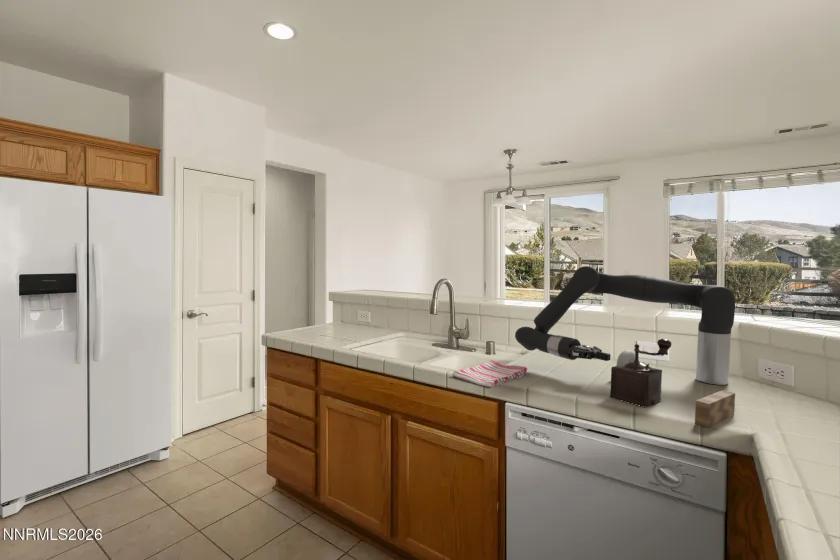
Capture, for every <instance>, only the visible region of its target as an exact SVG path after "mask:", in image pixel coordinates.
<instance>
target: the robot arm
mask: <svg viewBox="0 0 840 560" xmlns="http://www.w3.org/2000/svg"><path fill="white" fill-rule="evenodd" d="M586 293H596V294H608V295H612V296H613V295H614V296H618V297H622V298H626V299H630V300H635V301H636V300H637V301H640V302H641V301H642V302H648V303H655V304H656V303H658V304H659V303H660V304H682V305H686V306H692V307H696V308H700V309H701V317H700V321H699V323H698V326H697V327H698V328H697V329H698V330H697V345H696V346H697V347H696V349H697V350H696V371H695V379H696V381H699V382H702V383H705V384H706V383H707V384H711V385H718V386H720V385H721V386H726V385H729V379H730V378H729V377H730V376H729V375H730V374H729V373H730V362H731V361H730V358H731V344H732V343H731V338H732V328H733V326H734V322H735V314H736V313H735V312H736V297H735V294H734V292H733V291H732V290H731V289H729V288H728V287H726V286H724V285H723V286H722V285H717V284H693V283H690V284H689V283H684V282H683V283H682V282H678V281H675V280H671V279H668V278H667V279H666V278H663V277H656V276H649V275H641V274H621V275H617V274H616V275H614V274H607V273H601V272H598V271H597V269H595V267H593V266H589V265H586V266H585V265H583V266H580V267H579V268H577V269H575V271H574V272H573V275H572V277H571V278H570V280H569V281H568V282H567V284H566V285H565V286H564V287H563V289H561V291H560V292H559V293H558V295H556V296H555V297H554V298H553V299H552V300H551V301H550V302H549V303H548V304H547V305H546V306H545V307H544V308H543V309H542V310H541V311H540V312H538V314H537V315H536V316H535V318H534V319H533V323H534V325H535V328H533V327H531V326H522V327H519V328H518V329H517V330H516V331H515V334H514V337H515V340H516V342H517V343H518V344H519V345H521V346H522V347H524V348H525V350H528V351H530V352H531V351H534V350H538V351H539V352H543V353H546V354H549V355H550V354H551V355H553V356H555V357H558V358H561V359H567V360H570V361H575V360H576V359H585V360H586V359H587V360H600V361H603V362H608V361H611V357H612V356H611V354H610V353H606V352H604V351H603V350H602V349H601V348H599V347H597V346H593V347H592V346H588V345H586V344H581V342H580V341H579V340H578V338H574V337H568V336H565V335H559V334H558V335H557V334H551V333H548V332H550V330H551V329H552V328H553V327H554V326H555V325H556V324H557V323H558V322H559V321H560V320H561V318H563V316H564V315H565V314H566V313H567V311H568V310H569V309H570V308H571V306H573V305H574V303H576V301H577V300H579V298H580V297H582V296H583V295H584V294H586Z"/></svg>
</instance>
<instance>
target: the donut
mask: <svg viewBox="0 0 840 560" xmlns="http://www.w3.org/2000/svg"><path fill="white" fill-rule="evenodd" d="M616 360H617V361H616V366H618V365H623V364H626V363H629V362H633V361H634V360H635V351H634V350H633V351H632V349H625V350H623V351H621V352H620V353H619V355H618V356H617V359H616Z"/></svg>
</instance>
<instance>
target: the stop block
mask: <svg viewBox="0 0 840 560" xmlns="http://www.w3.org/2000/svg"><path fill="white" fill-rule="evenodd" d="M735 403H736V392H733V391H728V390H723V389H722V390H719V391H717V392H714V393H711V394H709V395H707V396H704V397H701V398H698V399H696V400H695V413H694V414H695V416H694V424H695V425H698V426H702V427H705V428H710V427H713V426H714V424H715V425H717V424H718V422H719V423H721V422H722V421H725V420H727V419H729V418H730V417H733V416H734V415H735ZM720 421H721V422H720ZM716 423H717V424H716Z"/></svg>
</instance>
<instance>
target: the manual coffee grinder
mask: <svg viewBox="0 0 840 560" xmlns="http://www.w3.org/2000/svg"><path fill="white" fill-rule="evenodd" d="M656 344H657V346H658V349H659V350H658V351H657V352H652V351H647V350H646V351H645V350H640V344H638V343H636V344H634V349H633V352H634V353H635V360H634V361H633V362H629V363H626V364H623V365H618V366H617V365H615V366H611V369H610V371H611V372H610V374H611V375H610V396H609V397H610V398H611V397H613V398H612V399H614V398H615V399H614V400H617V399H618V401H620V400H623V401H622V402H624V401H626V402H625V403H627V402H629V403H628V404H631V403H633V404H632V405H634V404H637V405H640V406H639V407H641V406H644V407H643V408H646V407H649V405H650V406H652V404H653V405H656V403H659V402H661V401H662V396H661V395H662V378H663V377H662V376H663V370H662V369H660V368H656V367H652V366H650V363H647V364H646V363H645V362H643V361H640V360H639V354H641V355H648V356H653V357H654V356H661V357H664V356H667V355H669V353H668V351H669V349H670V348H671V347H672V341H670V340H669V339H666V338H660V339H658V340H657V343H656ZM637 405H636V406H637ZM645 406H646V407H645Z"/></svg>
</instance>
